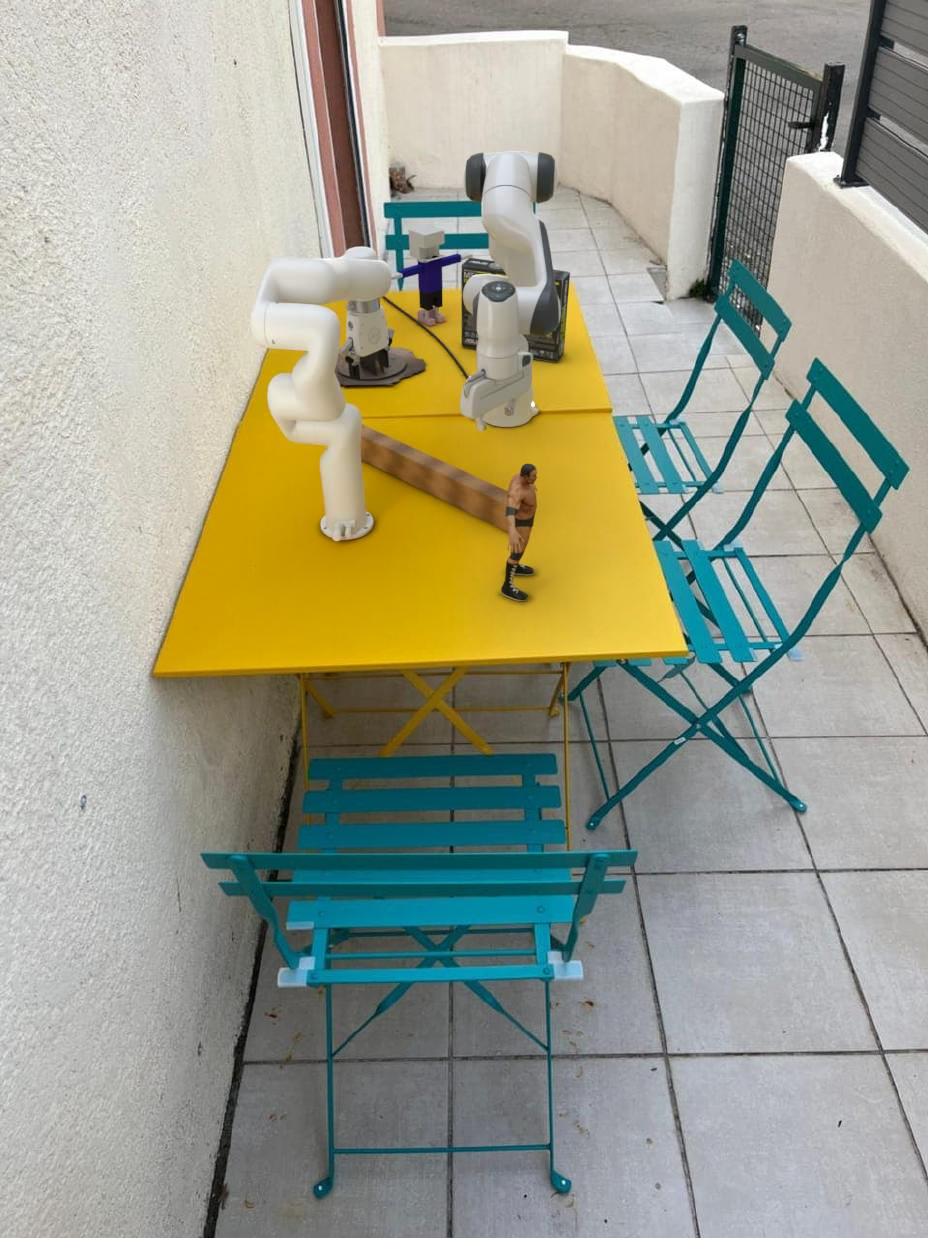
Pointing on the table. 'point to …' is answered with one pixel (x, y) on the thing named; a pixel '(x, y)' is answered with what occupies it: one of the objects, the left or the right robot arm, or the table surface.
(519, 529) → the figurine
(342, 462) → the left robot arm
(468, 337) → the box
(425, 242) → the toy
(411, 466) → the post
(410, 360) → the sculpture
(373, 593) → the table surface
